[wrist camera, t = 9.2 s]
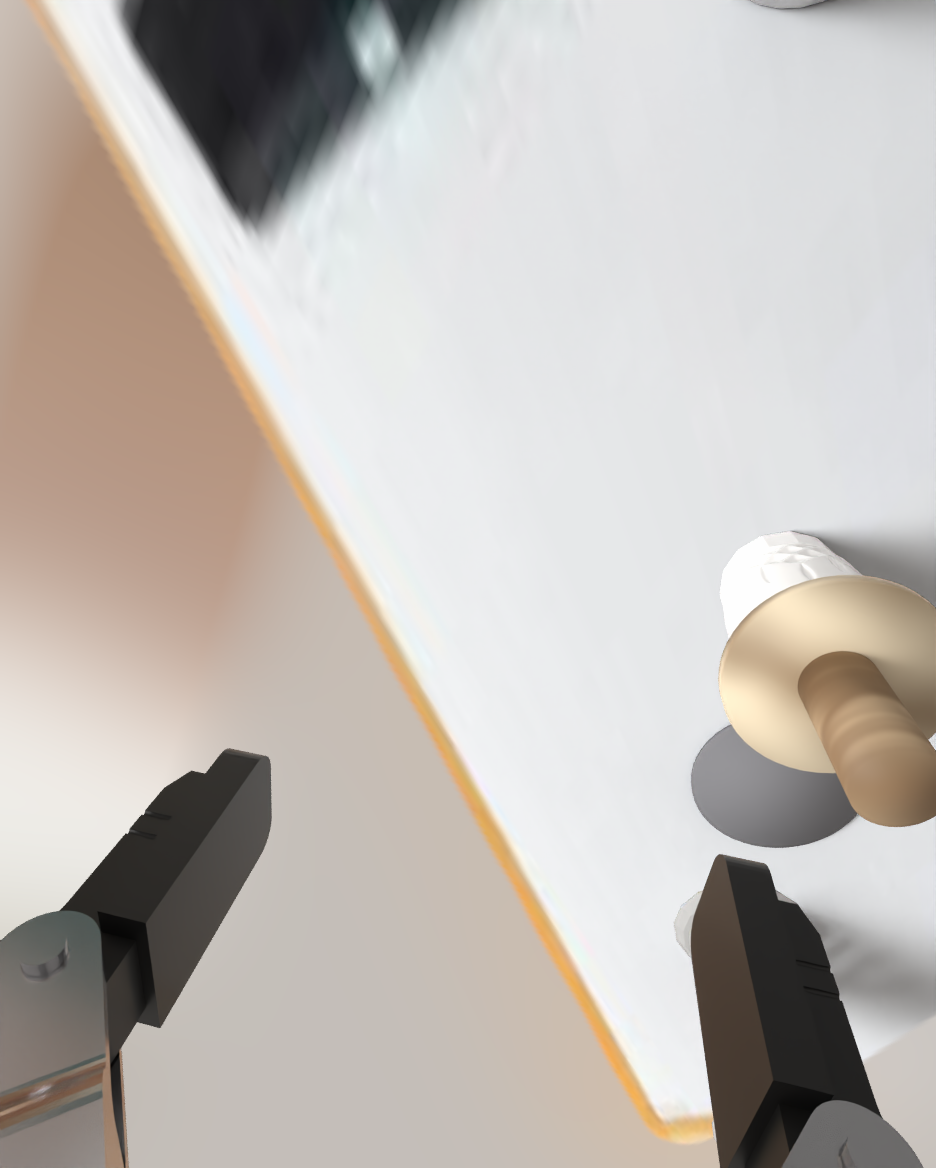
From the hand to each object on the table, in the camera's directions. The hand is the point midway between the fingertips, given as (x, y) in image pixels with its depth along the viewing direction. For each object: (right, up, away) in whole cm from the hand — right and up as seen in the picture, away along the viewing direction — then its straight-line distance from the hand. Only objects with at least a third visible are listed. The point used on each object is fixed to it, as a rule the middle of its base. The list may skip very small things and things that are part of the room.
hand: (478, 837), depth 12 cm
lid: (+17, 0, +19) cm, 25 cm away
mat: (+21, -9, +34) cm, 40 cm away
